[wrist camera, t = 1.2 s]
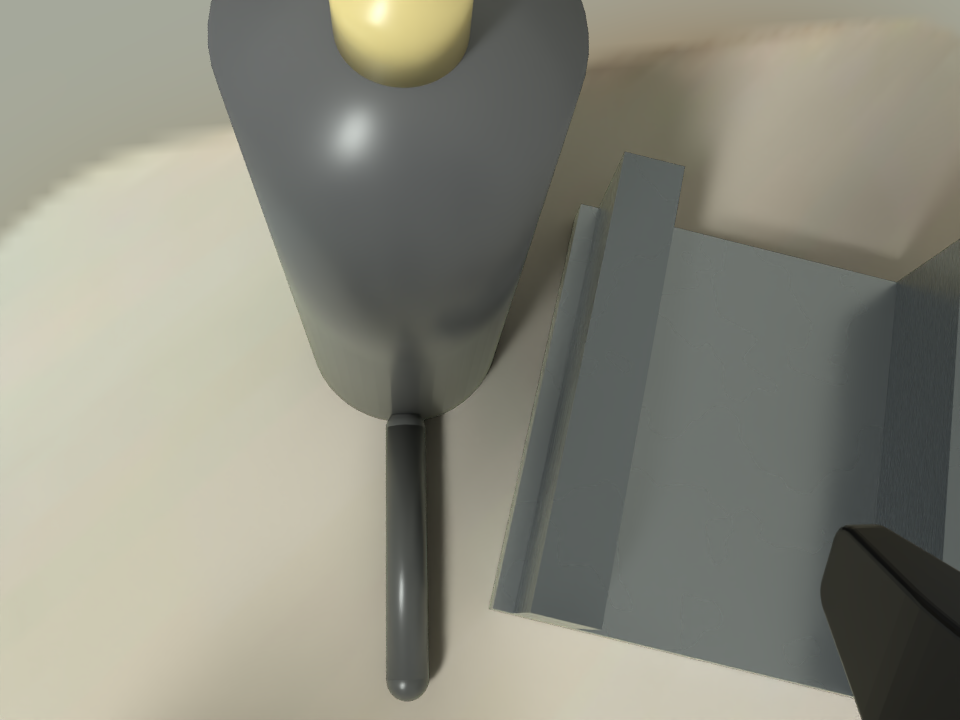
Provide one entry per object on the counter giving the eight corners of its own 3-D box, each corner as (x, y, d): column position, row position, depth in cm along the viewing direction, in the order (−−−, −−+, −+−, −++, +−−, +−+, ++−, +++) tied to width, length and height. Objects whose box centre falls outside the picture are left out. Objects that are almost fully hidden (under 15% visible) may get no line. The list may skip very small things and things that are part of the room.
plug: (511, 694, 21) (686, 823, 8) (302, 703, 20) (113, 854, 7) (493, 246, 24) (593, -191, 11) (313, 246, 24) (197, -210, 11)
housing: (916, 713, 21) (1026, 733, 18) (488, 608, 21) (506, 606, 18) (945, 312, 25) (1043, 256, 21) (574, 219, 25) (605, 146, 21)
